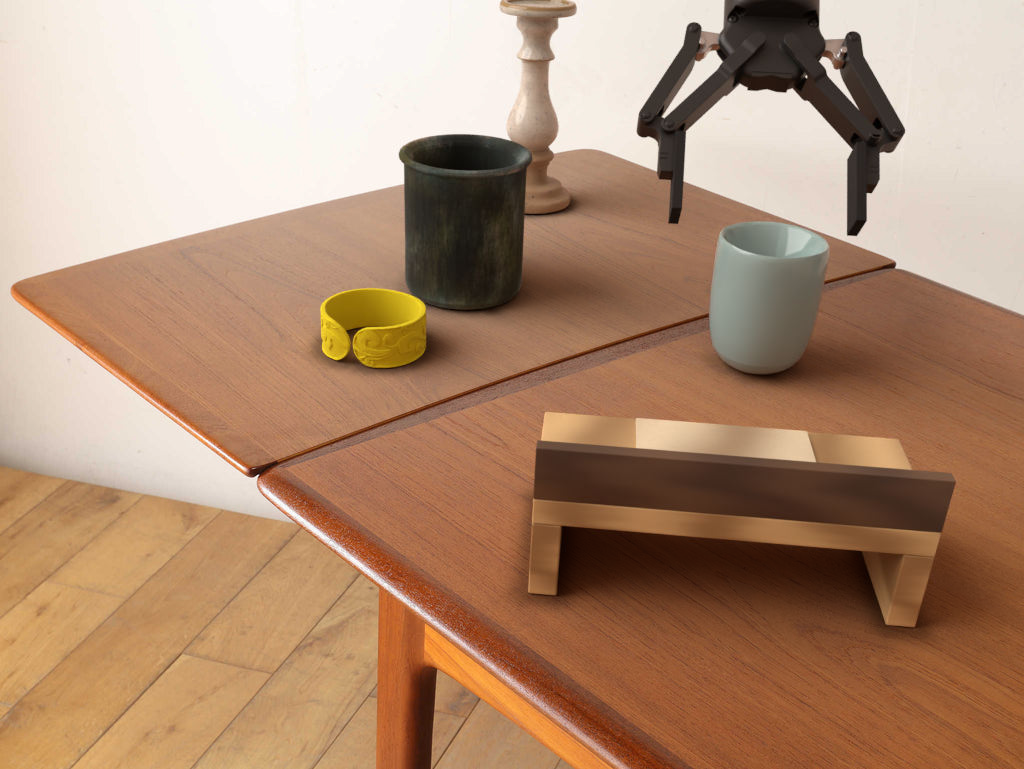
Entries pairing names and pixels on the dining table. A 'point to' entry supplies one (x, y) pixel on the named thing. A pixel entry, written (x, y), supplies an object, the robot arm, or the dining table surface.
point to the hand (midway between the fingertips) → (765, 222)
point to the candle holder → (537, 99)
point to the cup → (765, 294)
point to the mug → (464, 219)
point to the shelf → (741, 494)
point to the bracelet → (374, 345)
